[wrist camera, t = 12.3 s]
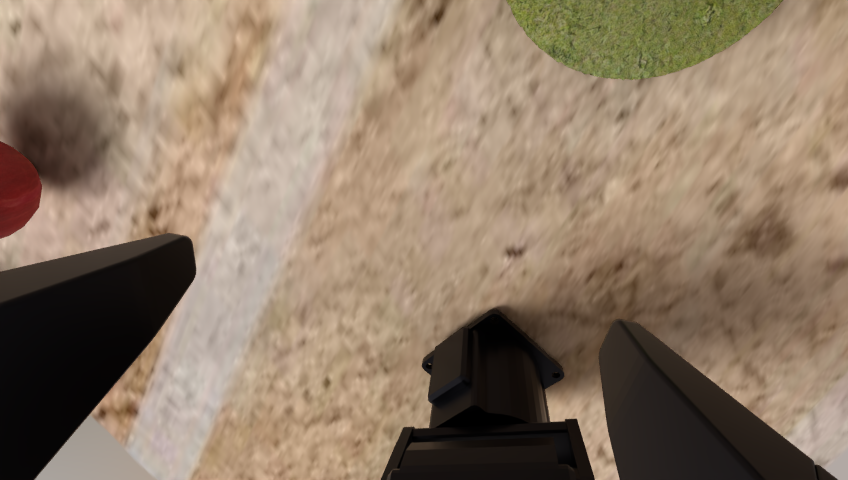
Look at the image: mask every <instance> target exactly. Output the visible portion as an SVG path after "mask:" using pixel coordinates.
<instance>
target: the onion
mask: <svg viewBox="0 0 848 480" xmlns="http://www.w3.org/2000/svg"><path fill="white" fill-rule="evenodd" d="M41 190H42V184H41V181H40V178H39V175H38V172H37V170H36V168H35V167H34V166H33V164H32V163H31V162H30V161H29V160H28V159H27V158H26V157H25V156H23V155H22V154H21V153H20V152H18V151H17V150H16V149H14V148H13V147H11V146H9V145H7V144H5V143H3V142H1V141H0V238H4V237H7V236H9V235H11V234H13V233H14V232H16V231H17V230H19V229H21V228H22V227H24V226H25V224H26V223H27V222H28V221H29V220H30V218H31V217H32V216H33V215H34V213H35V212H36V210H37V209H38V208H39V203H40V197H41Z"/></svg>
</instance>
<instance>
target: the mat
mask: <svg viewBox="0 0 848 480" xmlns="http://www.w3.org/2000/svg"><path fill="white" fill-rule="evenodd" d="M782 1H783V0H507V2H508V4H509V5H510V6H511V10H512V12H513V15H514V17H515V18H516V20H517V22H518V24H519V25H520V26H521V27H523V29H524V31H525V33H526V34H527V36H528V37H529V38H530V39H531V40H532V41H533V42H534V43H535V44H536V45H538V47H539V48H540V49H542V50H543V51H544V52H546V53H547V54H548V55H550V56H551V57H552V58H553V59H555V60H556V61H557V62H562V63H563V64H564V65H566V66H567V67H569V68H571V69H574V70H576V71H581V72H582V73H584V74H590V75H593V76H597V77H603V78H611V79H619V78H620V79H622V80H624V79H630V80H633V79H635V80H637V79H641V78H650V77H657V76H663V75H666V74H668V73H673V72H677V71H680V70H682V69H684V68H687V67H691V66H693V65H696V64H698V63H700V62H702V61H704V60H706V59H708V58H710V57H712V56H713V55H715V54H717V53H719V52H721V51H723V50H725V49H726V48H728V47H729V46H731V45H732V44H734V43H735V42H737V41H738V40H740V39H741V38H742V37H743V36H744V35H746V34H748V33H749V32H750V31H751V30H752V29H753V28H755V27H756V26H757V25H759V24H760V23H761V22H762V21H763V20H764V19H765V18H767V17H768V16H769V15H770V14H771V13H772V12H773V10H774V9H776V8H777V7H778V5H779V4H780V3H781V2H782Z"/></svg>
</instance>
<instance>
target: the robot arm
mask: <svg viewBox="0 0 848 480" xmlns="http://www.w3.org/2000/svg"><path fill="white" fill-rule="evenodd" d="M195 275H196V263H195V256H194V249H193V243H192V241H191V239H190V238H189V237H187V236H184V235H178V234H173V233H167V234H163V235H158V236H154V237H149V238H145V239H141V240H136V241H132V242H128V243H123V244H119V245H115V246H110V247H106V248H102V249H97V250H93V251H89V252H84V253H80V254H76V255H71V256H67V257H62V258H58V259H54V260H49V261H45V262H41V263H36V264H32V265H28V266H23V267H19V268H15V269H10V270H6V271H2V272H0V480H35V478H36V477H37V476H38V475H39V474H40V472H41V471H42V470H43V469H44V468H45V467H46V465H47V464H48V463H49V462H50V461H51V459H52V458H53V457H54V456H55V455H56V453H57V452H58V451H59V450H60V449H61V448H62V446H63V445H64V444H65V443H66V442H67V440H68V439H69V438H70V437H71V436H72V434H73V433H74V432H75V431H76V430H77V429H78V427H79V426H80V425H81V424H82V423H83V422H84V420H85V419H86V418H87V417H88V416H89V414H90V413H91V412H92V411H93V410H94V408H95V407H96V406H97V405H98V404H99V403H100V401H101V400H102V399H103V398H104V397H105V395H106V394H107V393H108V392H109V391H110V390H111V388H112V387H113V386H114V385H115V384H116V382H117V381H118V380H119V379H120V378H121V377H122V375H123V374H124V373H125V372H126V371H127V369H128V368H129V367H130V366H131V365H132V363H133V362H134V361H135V360H136V359H137V358H138V356H139V355H140V354H141V353H142V352H143V350H144V349H145V348H146V347H147V346H148V344H149V343H150V342H151V341H152V339H153V338H154V337H155V336H156V334H157V333H158V331H159V330H160V329H161V327H162V326H163V324H164V323H165V322H166V320H167V319H168V317H169V316H170V314H171V313H172V311H173V310H174V308H175V307H176V305H177V304H178V302H179V301H180V300H181V298H182V297H183V295H184V294H185V292H186V291H187V289H188V288H189V286H190V285H191V283H192V282H193V280H194V278H195ZM493 317H496V318H498V319H497V320H492V319H491V318H493ZM428 363H431V364H432V365H429V364H428ZM599 365H600V373H601V381H602V389H603V397H604V405H605V413H606V420H607V427H608V432H609V437H610V441H611V445H612V449H613V453H614V458H615V462H616V466H617V470H618V474H619V478H620V480H837V479H836V478H835V477H834V476H832V475H831V474H830V473H829V472H827V471H826V470H825V469H824V468H822V467H821V466H820V465H815V464H814V461H813V460H812V459H811V458H809V457H808V456H807V455H806V454H804V453H803V452H802V451H800V450H799V449H798V448H797V447H795V446H794V445H793V444H791V443H790V442H789V441H788V440H786V439H785V438H784V437H783V436H781V435H780V434H779V433H777V432H776V431H775V430H774V429H772V428H771V427H770V426H769V425H767V424H766V423H765V422H763V421H762V420H761V419H760V418H758V417H757V416H756V415H754V414H753V413H752V412H751V411H749V410H748V409H747V408H746V407H744V406H743V405H742V404H740V403H739V402H738V401H737V400H735V399H734V398H733V397H732V396H730V395H729V394H728V393H726V392H725V391H724V390H723V389H721V388H720V387H719V386H718V385H716V384H715V383H714V382H712V381H711V380H710V379H709V378H707V377H706V376H705V375H703V374H702V373H701V372H700V371H698V370H697V369H696V368H695V367H693V366H692V365H691V364H689V363H688V362H687V361H686V360H684V359H683V358H682V357H681V356H679V355H678V354H677V353H675V352H674V351H673V350H672V349H670V348H669V347H668V346H667V345H665V344H664V343H663V342H661V341H660V340H659V339H658V338H656V337H655V336H654V335H653V334H651V333H650V332H649V331H647V330H646V329H645V328H644V327H642V326H641V325H640V324H638V323H636V322H632V321H627V320H622V319H617V320H615V321H614V322H613V323H612V325H611V326H610V329H609V331H608V333H607V335H606V337H605V340H604V342H603V344H602V346H601V348H600V352H599ZM422 368H423V369H424V370H425V371H426V372H427V373H429V374H430V375H431V379H430V386H429V392H428V401H429V402H430V403H432V410H431V417H430V425H429V428H418V429H415V428H414V427H404V428H403V430H402V432H401V434H400V437H399V439H398V441H397V443H396V445H395V447H394V450H393V452H392V454H391V457H390V459H389V461H388V464H387V466H386V468H385V471H384V473H383V476H382V478H381V480H595V478H594V475H593V472H592V468H591V465H590V462H589V458H588V455H587V452H586V448H585V445H584V442H583V438H582V435H581V432H580V428H579V425H578V421H577V419H565V421H563V422H550V417H549V412H548V406H547V400H546V394H545V389H546V388H548V387H549V386H551V385H553V384H555V383H556V382H558V381H560V380H562V379H563V378H564V371H563V368H562V366H560V365H559V364H558V363H557V362H556V361H555V360H554V359H553V358H552V357H550V356H549V355H548V354H547V353H546V352H545V351H544V350H543V349H542V348H540V347H539V346H538V345H537V344H536V343H535V342H534V341H533V340H531V339H530V338H529V337H528V336H527V335H526V334H525V333H524V332H523V331H521V330H520V329H519V328H518V327H517V326H516V325H515V324H514V323H512V322H511V321H510V320H509V319H508V318H507V317H506V316H505V315H504V314H502V313H501V312H500V311H498V310H490V311H488V312H487V313H486V314H484V315H483V316H481V317H480V318H479V319H477V320H476V321H474V322H473V323H472V324H470V325H469V326H468V327H463V328H461V329H460V330H458V331H457V332H456V333H454V334H453V335H452V336H450V337H449V338H447V339H446V340H445V341H443V342H442V343H440V344H439V345H438V346H436V347H435V350H434V351H433V352H431V353H430V354H429V355H427V356H426V357H425V358H424V359H423V363H422ZM554 372H558V373H554Z"/></svg>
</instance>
